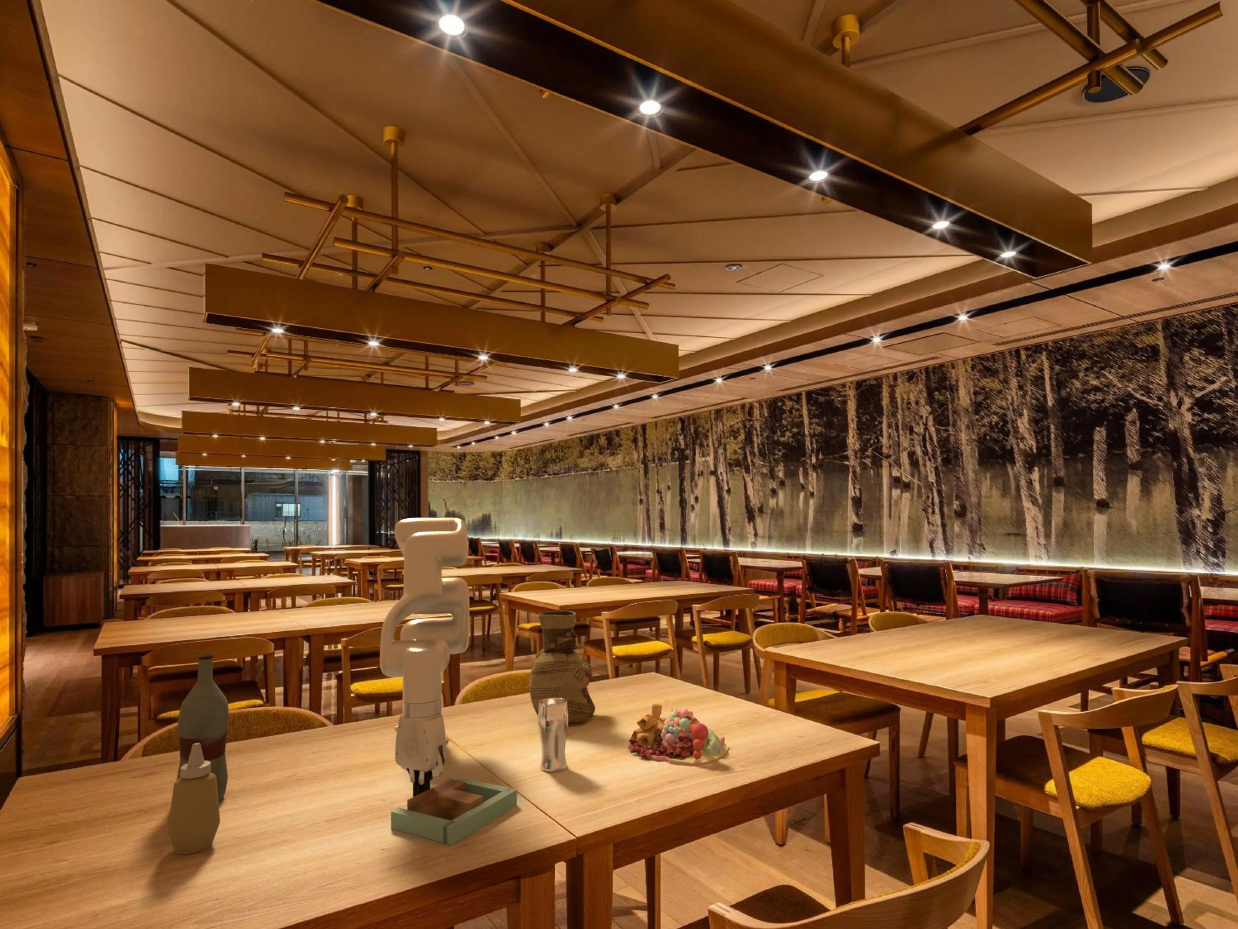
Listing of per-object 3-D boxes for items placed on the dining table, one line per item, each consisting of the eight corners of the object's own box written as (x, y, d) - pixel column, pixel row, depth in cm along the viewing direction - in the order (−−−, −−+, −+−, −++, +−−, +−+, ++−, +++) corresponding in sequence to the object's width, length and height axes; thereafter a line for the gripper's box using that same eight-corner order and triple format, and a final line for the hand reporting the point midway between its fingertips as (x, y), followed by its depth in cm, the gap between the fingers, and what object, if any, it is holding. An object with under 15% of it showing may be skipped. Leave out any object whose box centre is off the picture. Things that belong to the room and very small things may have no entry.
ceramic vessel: (614, 716, 199) (613, 611, 201) (558, 733, 184) (556, 619, 186) (572, 704, 212) (571, 606, 215) (516, 719, 198) (515, 613, 200)
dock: (390, 828, 129) (391, 811, 129) (460, 791, 145) (460, 777, 146) (451, 845, 122) (451, 827, 122) (517, 805, 138) (516, 789, 138)
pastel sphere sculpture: (614, 758, 165) (613, 719, 166) (646, 729, 187) (645, 695, 187) (716, 771, 156) (715, 729, 156) (737, 739, 178) (736, 702, 178)
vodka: (172, 813, 137) (177, 660, 139) (177, 797, 145) (181, 653, 148) (226, 803, 141) (230, 655, 144) (228, 788, 150) (231, 648, 152)
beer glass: (564, 774, 154) (563, 705, 156) (534, 772, 156) (533, 704, 157) (572, 763, 161) (571, 697, 162) (543, 761, 163) (543, 697, 164)
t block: (407, 821, 132) (407, 800, 132) (450, 798, 142) (450, 778, 142) (454, 834, 126) (454, 811, 126) (496, 809, 136) (496, 788, 137)
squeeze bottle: (182, 838, 126) (185, 738, 127) (228, 836, 127) (230, 736, 128) (156, 860, 118) (159, 752, 119) (205, 857, 119) (208, 750, 120)
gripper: (381, 708, 140) (380, 802, 138) (436, 717, 132) (435, 816, 131) (408, 699, 146) (408, 788, 145) (462, 708, 139) (462, 801, 138)
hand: (421, 801), depth 138 cm, fingers closed
